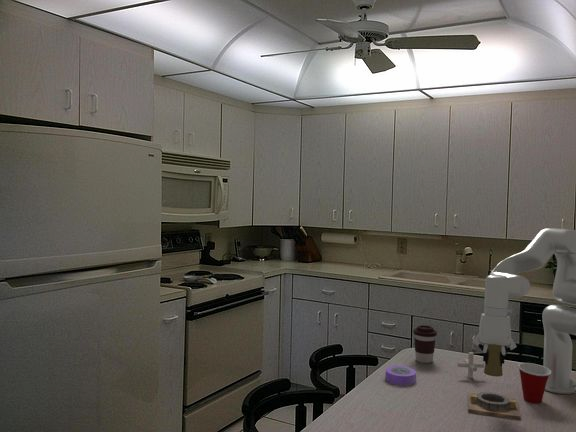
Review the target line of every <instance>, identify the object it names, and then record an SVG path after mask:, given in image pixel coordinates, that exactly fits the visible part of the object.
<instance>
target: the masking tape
mask: <svg viewBox="0 0 576 432" xmlns="http://www.w3.org/2000/svg"><path fill="white" fill-rule="evenodd" d="M385 381H387V382H388V383H390V384H393V385H398V386H411V385H413V384H415V383H417V382H416V381H417V371H416V370H415V369H413V368H411V367H408V366H405V365H404V366H403V365H391V366H388V367H386V368H385Z"/></svg>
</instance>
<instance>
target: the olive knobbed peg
mask: <svg viewBox="0 0 576 432" xmlns="http://www.w3.org/2000/svg"><path fill="white" fill-rule="evenodd" d="M501 350H502V347H501V346H500V345H496V344H489V345H488V348H487V352H488V362H487V365H485V364H484V369H483V370H484V371H483V373H484V374H485V375H487V376H491V377H502V376H503V366H502V367H501V366H500V355H501Z"/></svg>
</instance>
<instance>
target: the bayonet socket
mask: <svg viewBox="0 0 576 432" xmlns="http://www.w3.org/2000/svg"><path fill="white" fill-rule="evenodd" d="M467 408H468V409H467V411H468V413H471V414H478V415H486V416H493V417H499V418H507V419H514V420H521V413H520V410H519V405H518V401H517V398H514V397H507V396H505V395H503V394H500V393H497V392H489V391H485V392H484V391H483V392H479V393H478V392H477V393H475V392H467Z"/></svg>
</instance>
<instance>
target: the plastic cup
mask: <svg viewBox="0 0 576 432" xmlns="http://www.w3.org/2000/svg"><path fill="white" fill-rule="evenodd" d="M517 368H518V370H519V377H520V384H521V390H522V396H523V400H524V402H527V403H531V404H536V405H538V404H541V403H542V401H543V398H544V394H545V391H546V390H545V387H546V383H547V380H548V377H549V375H551V371H550V370H549V369H548V368H546V367H544V366H543V365H540V364H536V363H534V362H533V363H532V362H521V363H518V364H517Z"/></svg>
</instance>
